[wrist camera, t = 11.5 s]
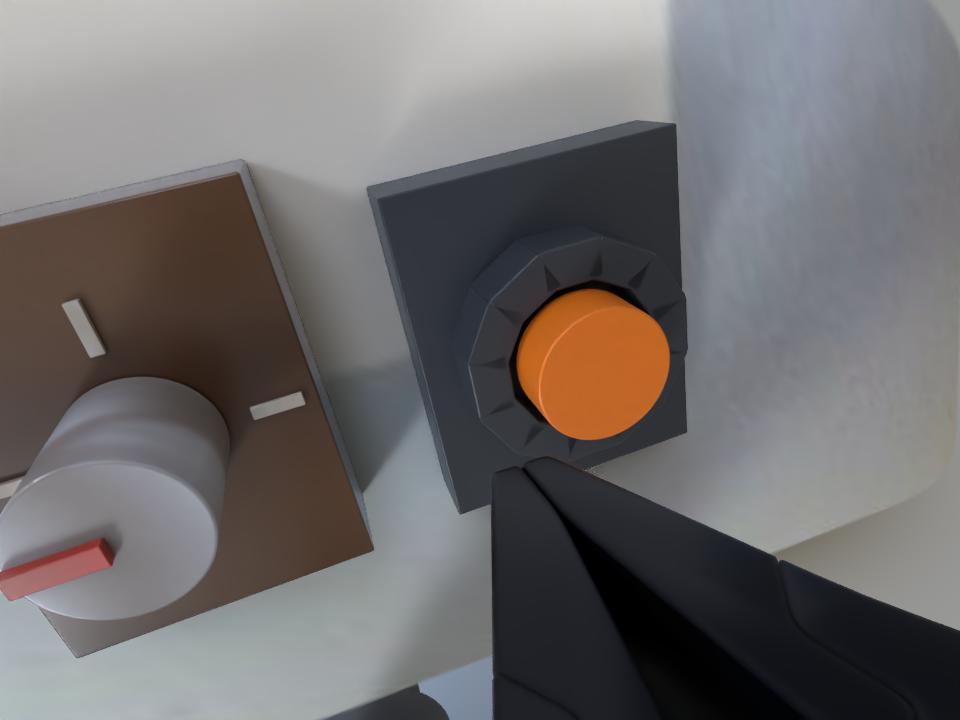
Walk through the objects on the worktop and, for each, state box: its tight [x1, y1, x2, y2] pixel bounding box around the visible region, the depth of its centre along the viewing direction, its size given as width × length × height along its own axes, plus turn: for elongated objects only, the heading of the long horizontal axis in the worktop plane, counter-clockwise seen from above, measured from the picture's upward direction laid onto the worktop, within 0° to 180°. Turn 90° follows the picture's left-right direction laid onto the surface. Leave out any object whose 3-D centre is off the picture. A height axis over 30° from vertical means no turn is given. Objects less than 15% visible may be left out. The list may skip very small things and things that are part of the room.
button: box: [517, 289, 670, 440], centre depth 17 cm, size 4×4×2 cm
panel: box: [0, 159, 374, 658], centre depth 17 cm, size 12×9×3 cm
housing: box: [367, 120, 688, 514], centre depth 19 cm, size 11×9×4 cm
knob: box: [0, 377, 230, 620], centre depth 14 cm, size 4×4×4 cm
